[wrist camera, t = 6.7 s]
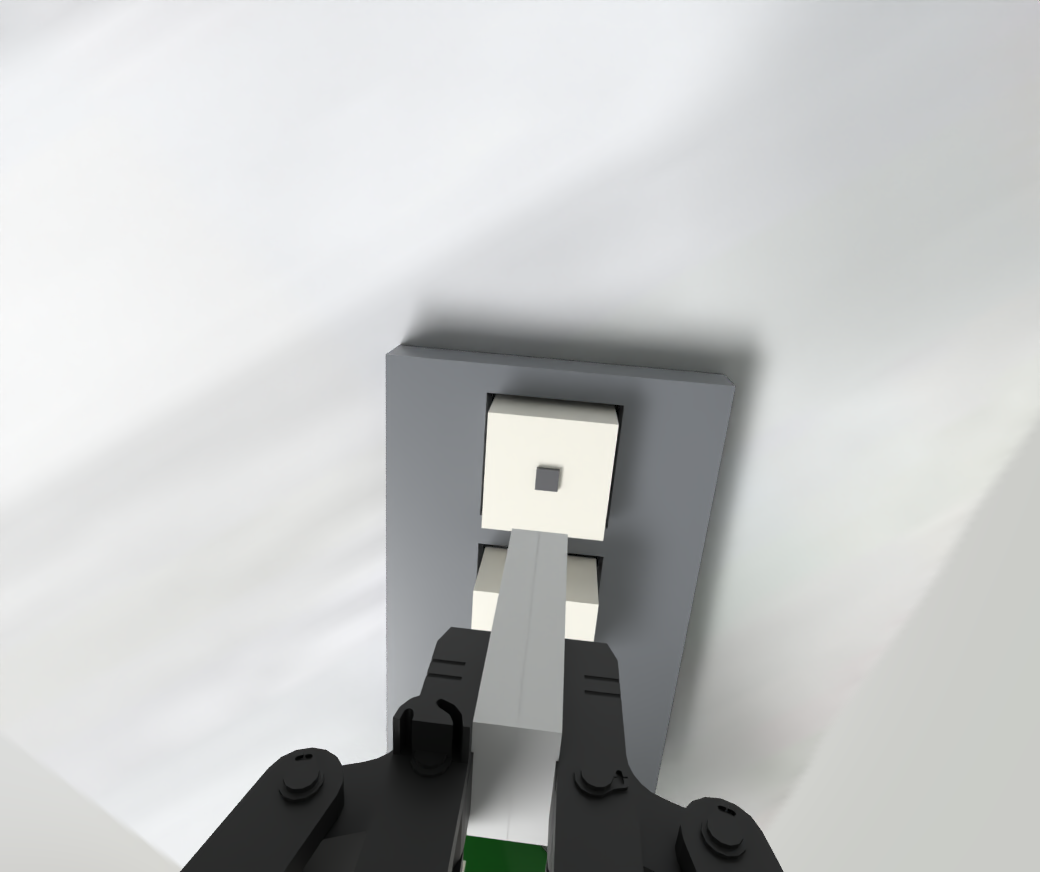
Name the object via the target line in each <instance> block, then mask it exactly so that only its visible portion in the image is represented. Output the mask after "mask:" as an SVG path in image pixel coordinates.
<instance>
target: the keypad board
mask: <svg viewBox="0 0 1040 872" xmlns="http://www.w3.org/2000/svg"><path fill="white" fill-rule="evenodd" d="M735 387H736V386H735V385H734V384H733V383H732V382H731V381H730V380H729V379H728V378H727V377H726V376H725V375H724V374H715V373H704V372H693V371H682V370H671V369H660V368H648V367H637V366H626V365H615V364H604V363H593V362H582V361H571V360H560V359H548V358H537V357H526V356H515V355H504V354H493V353H482V352H471V351H460V350H448V349H437V348H426V347H415V346H404V345H399V346H397V347H396V348H394V349H393V350H391V351H390V352H389V353H387V354H386V645H387V754H388V753H389V752H391V751H392V750H393V716H394V715H395V713H396V712H397V710H398V708H399V707H400V706H401V705H402V704H404V703H405V702H406V701H408V700H409V699H410V698H413V697H416V696H419V695H420V693H421V690H422V687H423V684H424V680H425V677H426V676H427V671H428V668H429V665H430V662H431V660H432V656H433V653H434V649H435V646H436V643H437V641H438V640H439V639H440V638H441V637H442V636H443V635H444V634H445V633H446V631H447V630H448V629H449V628H450V627H458V628H466V629H471V624H472V605H473V590H474V586H475V583H476V579H477V575H478V572H479V568H480V565H481V561H482V558H483V544H490V545H499V546H509V541H510V536H511V531H505V530H496V529H487V528H481V527H482V509H483V492H484V474H485V457H486V439H487V422H488V411H489V409H490V407H491V405H492V393H497V394H507V395H518V396H529V397H539V398H550V399H561V400H571V401H582V402H593V403H603V404H614V405H619V410H618V418H617V419H618V424H619V426H618V434H617V441H616V449H615V456H614V463H613V471H612V478H611V486H610V493H609V501H608V508H607V516H606V523H605V530H604V538H603V541H599V540H590V539H580V538H571V537H568V545H567V553H573V554H582V555H592V556H599V561H598V568H597V584H598V601H599V606H598V614H597V621H596V628H595V635H594V642H600V643H607V644H608V646H609V647H610V649H611V650H612V652H613V654H614V655H615V657H616V658H617V660H618V668H619V683H620V691H621V702H622V713H623V724H624V735H625V746H626V756H627V760H628V764H629V766H630V768H631V770H632V772H633V774H634V776H635V777H636V778H637V779H638V780H639V782H640V783H641V784H642V785H643V786H645V787H646V788H647V789H648V790H649V791H651V792H652V793H654V794H655V790H656V785H657V780H658V775H659V770H660V765H661V760H662V755H663V750H664V745H665V740H666V735H667V730H668V725H669V720H670V715H671V710H672V705H673V700H674V695H675V690H676V684H677V679H678V674H679V669H680V664H681V659H682V654H683V649H684V644H685V639H686V634H687V629H688V624H689V619H690V614H691V609H692V604H693V599H694V594H695V589H696V584H697V579H698V574H699V569H700V564H701V559H702V554H703V549H704V544H705V539H706V533H707V528H708V523H709V518H710V513H711V508H712V503H713V498H714V493H715V488H716V483H717V478H718V473H719V468H720V463H721V458H722V453H723V448H724V443H725V438H726V433H727V428H728V423H729V418H730V413H731V408H732V403H733V398H734V393H735Z"/></svg>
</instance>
